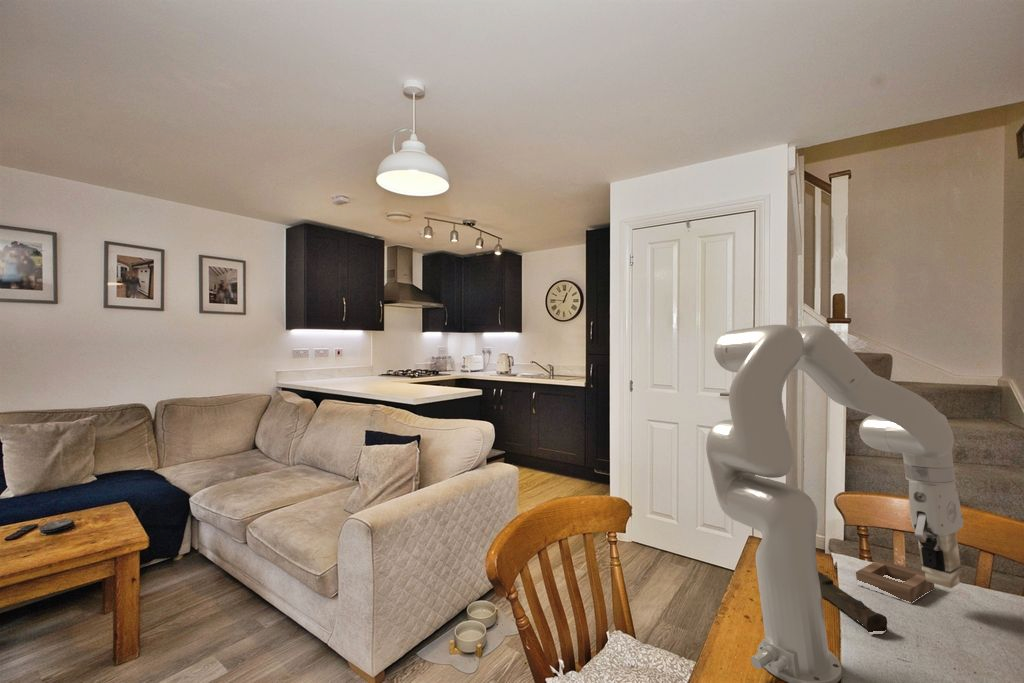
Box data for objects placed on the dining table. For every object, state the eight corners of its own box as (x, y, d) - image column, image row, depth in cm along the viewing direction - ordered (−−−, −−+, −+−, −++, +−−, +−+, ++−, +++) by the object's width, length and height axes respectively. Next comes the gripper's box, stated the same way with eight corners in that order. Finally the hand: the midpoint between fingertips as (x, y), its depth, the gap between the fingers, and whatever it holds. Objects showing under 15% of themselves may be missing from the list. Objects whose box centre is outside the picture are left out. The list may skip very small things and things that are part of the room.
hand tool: (891, 636, 85) (887, 610, 85) (869, 637, 85) (866, 612, 85) (824, 586, 104) (821, 566, 104) (806, 588, 104) (804, 567, 104)
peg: (952, 589, 87) (944, 526, 88) (922, 580, 92) (915, 520, 92) (963, 583, 90) (955, 521, 90) (933, 574, 94) (926, 515, 94)
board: (911, 604, 94) (909, 589, 94) (857, 585, 103) (855, 571, 103) (934, 589, 98) (932, 575, 98) (880, 572, 107) (879, 559, 107)
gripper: (932, 484, 85) (945, 584, 84) (972, 469, 92) (984, 561, 91) (885, 477, 91) (896, 569, 90) (926, 463, 99) (937, 549, 98)
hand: (940, 564), depth 91 cm, fingers closed on peg, 4 cm apart
